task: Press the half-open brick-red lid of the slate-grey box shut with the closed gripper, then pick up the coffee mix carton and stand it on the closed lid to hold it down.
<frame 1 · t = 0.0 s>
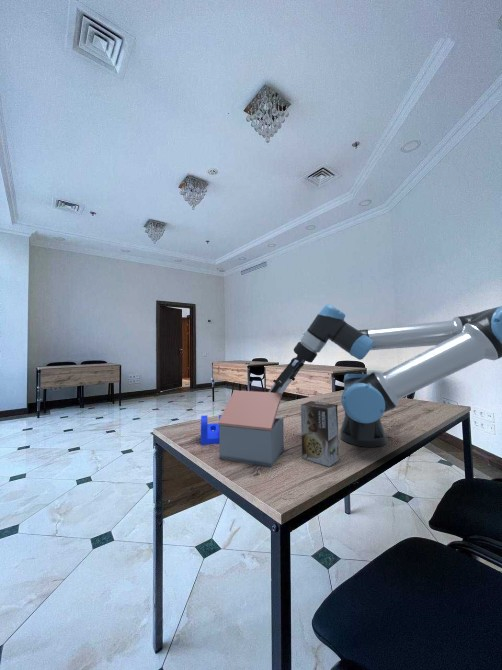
hand: (273, 395, 97), 16 cm above the table, tool tilted 35°, fingers open, 13 cm apart
lid: (251, 408, 85), point 14 cm above the table, hinge at 33.2°, touching gripper
bracket: (213, 436, 103), on the table
box: (253, 453, 86), on the table
coffee box: (320, 459, 82), on the table
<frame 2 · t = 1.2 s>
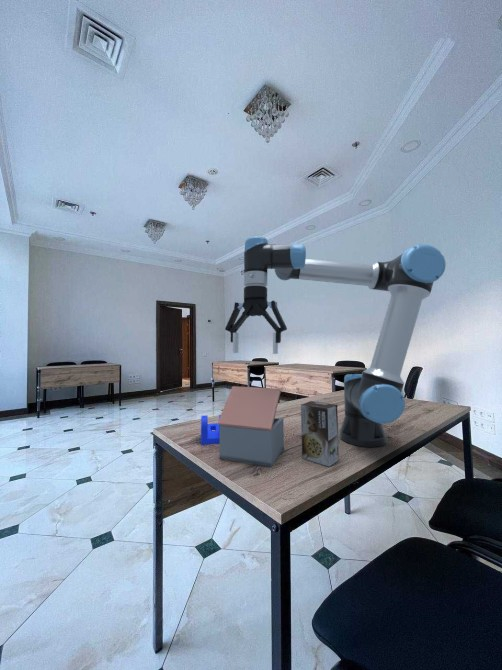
hand: (254, 353, 88), 31 cm above the table, tool pointing down, fingers open, 13 cm apart
lid: (250, 406, 84), point 15 cm above the table, hinge at 41.6°
everything else where it was.
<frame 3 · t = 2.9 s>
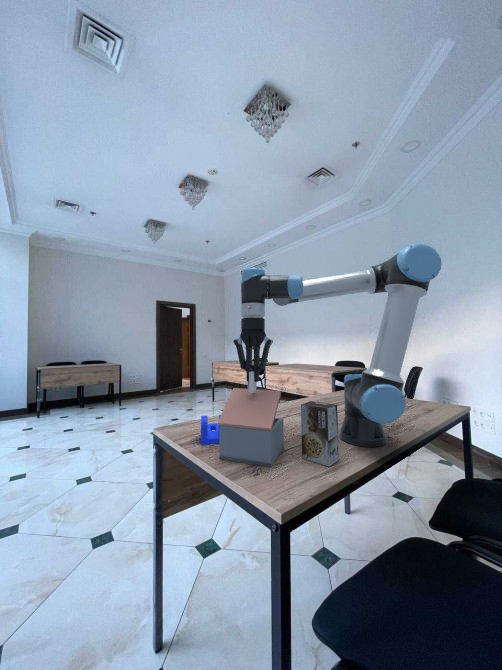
hand: (252, 392, 87), 19 cm above the table, tool pointing down, fingers closed
lid: (250, 407, 85), point 15 cm above the table, hinge at 37.7°, touching gripper
everything else where it was.
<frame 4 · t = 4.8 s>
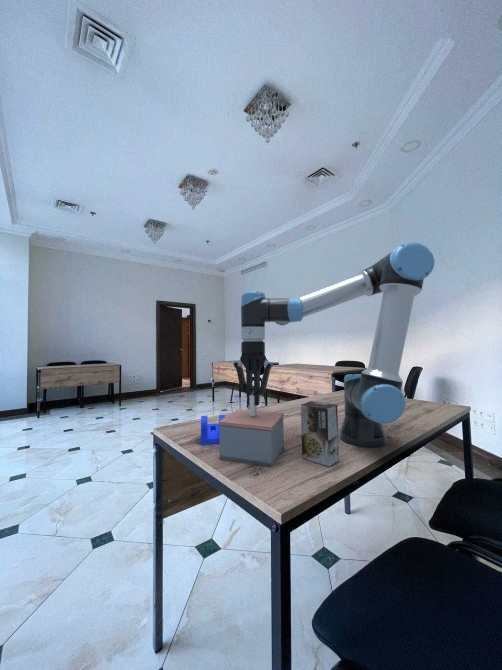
hand: (253, 415, 87), 12 cm above the table, tool pointing down, fingers closed
lid: (252, 418, 86), point 11 cm above the table, hinge at 2.0°, touching gripper
everything else where it was.
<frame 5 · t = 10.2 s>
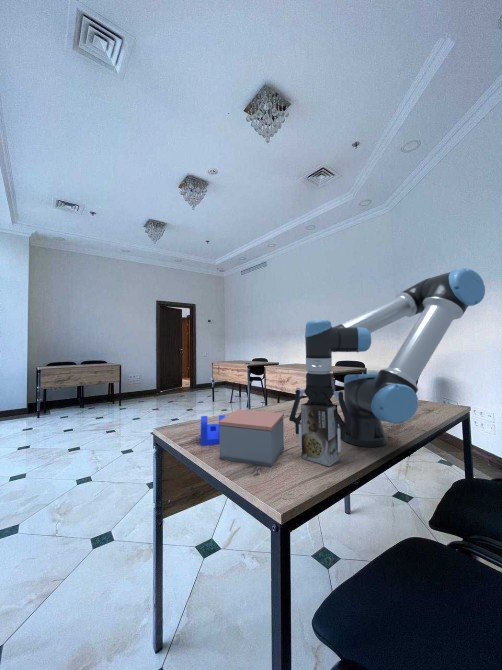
hand: (319, 447, 82), 3 cm above the table, tool pointing down, fingers closed on coffee box, 10 cm apart
lid: (252, 418, 86), point 11 cm above the table, hinge at 2.0°
coffee box: (320, 459, 82), on the table, touching gripper
everything else where it was.
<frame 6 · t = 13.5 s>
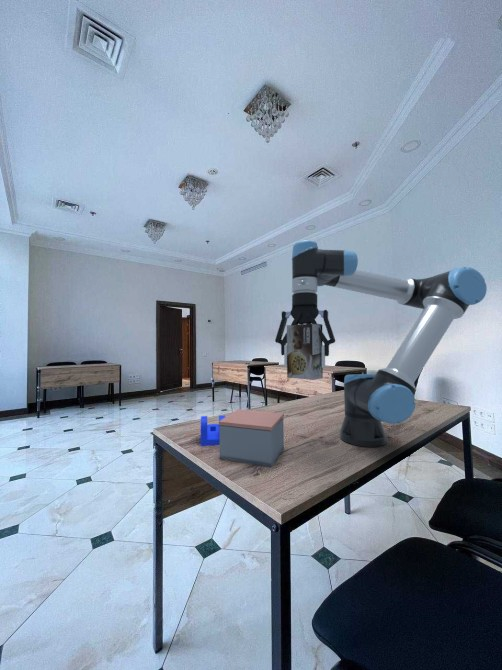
hand: (304, 366, 83), 27 cm above the table, tool pointing down, fingers closed on coffee box, 10 cm apart
coffee box: (304, 378, 83), point 24 cm above the table, touching gripper
everything else where it was.
when the fingers open (16 cm above the table, at t = 17.1 s): coffee box drops 1 cm, resting on lid.
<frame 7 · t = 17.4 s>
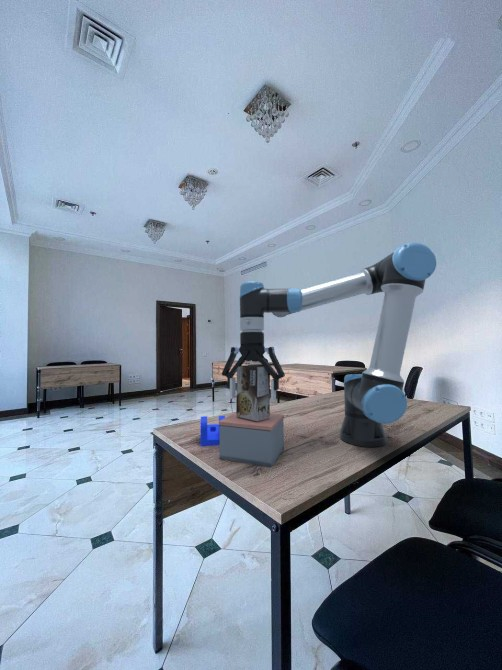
hand: (252, 399, 86), 17 cm above the table, tool pointing down, fingers open, 13 cm apart
lid: (252, 419, 86), point 10 cm above the table, hinge at -0.1°, touching coffee box
coffee box: (252, 418, 86), point 11 cm above the table, touching lid
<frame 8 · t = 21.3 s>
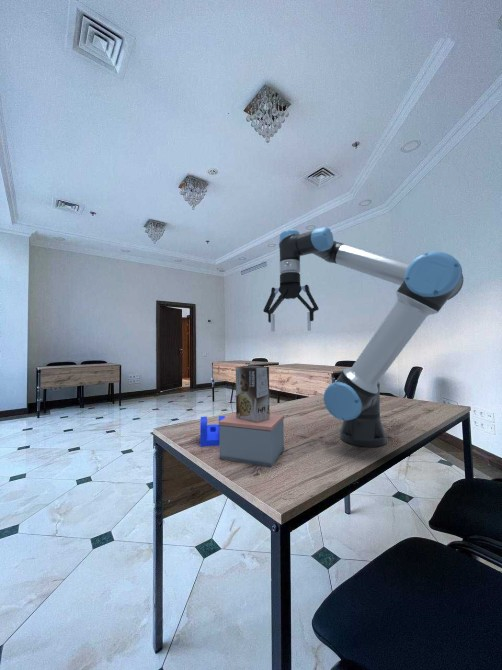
hand: (290, 331, 102), 39 cm above the table, tool pointing down, fingers open, 13 cm apart
lid: (252, 419, 86), point 10 cm above the table, hinge at -0.7°, touching coffee box
at the end: lid at -1° (first picture: +33°); coffee box inside the target area on the box (0.0 cm from its centre), point 10.7 cm above the box's base; coffee box tilted 1° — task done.
